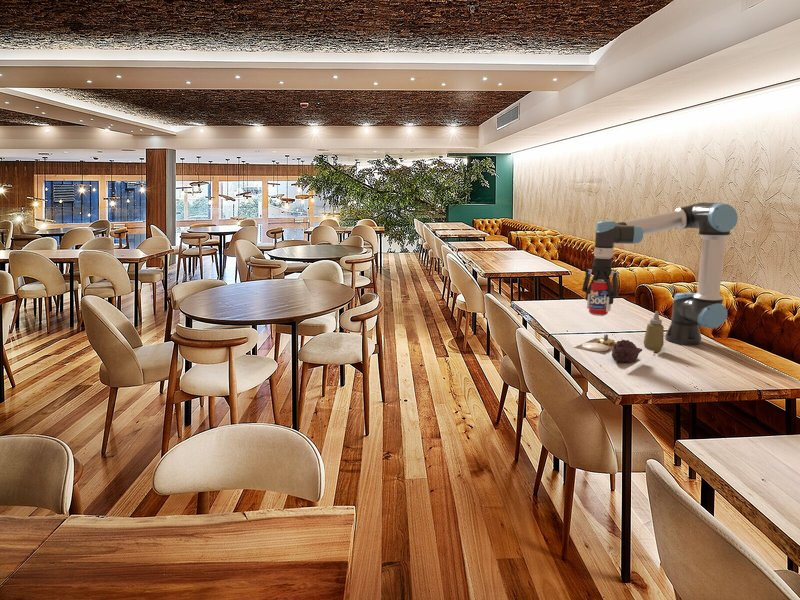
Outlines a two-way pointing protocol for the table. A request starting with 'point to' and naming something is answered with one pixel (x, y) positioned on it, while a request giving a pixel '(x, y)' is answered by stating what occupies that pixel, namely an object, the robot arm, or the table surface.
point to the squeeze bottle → (654, 334)
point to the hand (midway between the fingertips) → (598, 309)
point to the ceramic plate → (595, 347)
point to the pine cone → (625, 351)
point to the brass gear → (605, 340)
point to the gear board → (596, 351)
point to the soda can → (598, 298)
